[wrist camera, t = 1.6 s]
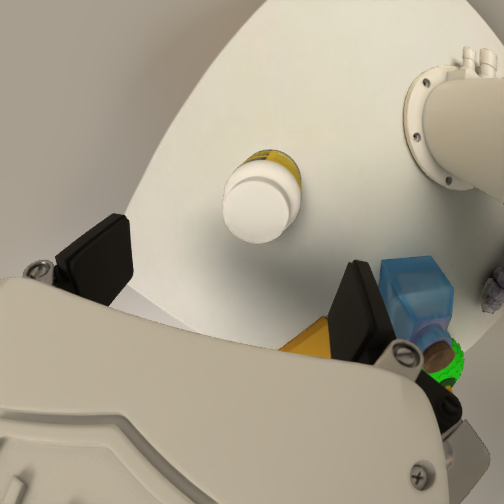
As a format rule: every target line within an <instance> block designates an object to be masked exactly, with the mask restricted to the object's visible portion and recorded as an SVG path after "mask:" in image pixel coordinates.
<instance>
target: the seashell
mask: <svg viewBox="0 0 504 504" xmlns="http://www.w3.org/2000/svg"><path fill="white" fill-rule="evenodd" d="M482 293H483V294H482V301H481V302H482V303H481V305H482V309H483V310H482V312H487V313H492V314H493V313H494V312H495V311H496V310H499V309H500V307H501V306H502V303H504V267H503V266H499V267H498V268H497V269H496V270H495V271H494V275H493V278H488V280H487V281H486V283H485V285H484V287H483V289H482Z"/></svg>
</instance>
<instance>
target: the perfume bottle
mask: <svg viewBox="0 0 504 504" xmlns="http://www.w3.org/2000/svg"><path fill="white" fill-rule="evenodd" d="M379 291H380V293H381V296H382V298H383V301H384V303H385V306H386V309H387V312H388V314H389V317H390V320H391V323H392V326H393V329H394V332H395V335H396V338H397V339H405V340H408V341H410V342H412V343H414V344H415V345H416V346H417V347H418V348H419V349H420V350H421V352H422V354H423V356H424V364H423V370H424V371H425V372H426V373H429V374H431V373H436V372H439V371H441V370H443V369H444V368H446V367H447V366H448V365H449V364H450V363H451V362H452V361H453V359H454V357H455V351H454V350H453V349H452V348H451V347H452V340H451V338H450V336H449V334H448V333H447V332H446V330H447V328H448V325H449V322H450V320H451V317H452V310H453V296H454V288H453V286H452V285H451V283H450V282H449V280H448V279H447V277H446V276H445V275H444V273H443V272H442V270H441V269H440V268H439V266H438V265H437V264H436V262H435V261H434V259H433V258H432V257H431V256H423V257H411V258H399V259H387V260H382V261H381V272H380V281H379Z"/></svg>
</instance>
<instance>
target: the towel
mask: <svg viewBox="0 0 504 504" xmlns="http://www.w3.org/2000/svg"><path fill="white" fill-rule="evenodd" d="M278 351H284V352H290V353H296V354H302V355H309V356H315V357H323V358H329V359H331V353H330V342H329V331H328V321H327V318H325V317H324V316H323V317H321V318H320V319H319V320H318V321H316V322H315V323H314V324H312V325H311V326H310V327H309V328H307V329H306V330H305V331H303V332H302V333H301V334H299V335H298V336H297V337H295V338H294V339H293V340H291V341H290V342H289V343H287V344H286V345H285V346H283V347H282V348H280V349H279V350H278Z"/></svg>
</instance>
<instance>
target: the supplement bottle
mask: <svg viewBox="0 0 504 504" xmlns="http://www.w3.org/2000/svg"><path fill="white" fill-rule="evenodd" d="M223 200H224V204H223V218H224V221H225V224H226V226H227V227H228V229H229V230H230V231H231V232H232V233H233V234H234V235H235V236H236V237H237V238H239V239H241V240H243V241H245V242H248V243H253V244H262V243H267V242H270V241H272V240H274V239H276V238H277V237H279V236H280V235H281V234H282V233H283V231H284V230H285V229H286V228H287V227H288V226H290V225H291V224H292V222H293V221H294V220H295V218H296V217H297V215H298V212H299V210H300V205H301V177H300V172H299V169H298V166H297V165H296V163H295V162H294V160H293V159H292V158H291V157H290V156H288V155H287V154H285V153H283V152H281V151H278V150H272V149H269V150H262V151H259V152H257V153H255V154H253V155H252V156H251V157H249V158H248V159H247V160H246V161H245V162H244V163H243V164H241V165H240V166H239V167H238V168H237V169H236V170H235V171H234V172H233V173H232V174H231V176H230V177H229V179H228V180H227V182H226V185H225V188H224V194H223Z"/></svg>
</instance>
